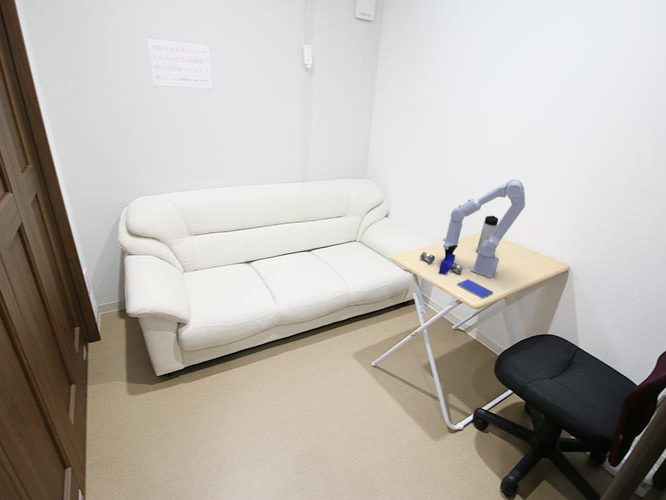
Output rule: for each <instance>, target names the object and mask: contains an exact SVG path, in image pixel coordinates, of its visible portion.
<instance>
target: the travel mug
mask: <svg viewBox="0 0 666 500" xmlns="http://www.w3.org/2000/svg"><path fill="white" fill-rule="evenodd" d="M498 224H499V218H498V217H496V216H495V215H488V216H487V215H486V216H485V218H484V222H483V225H482V229H481V234H480V237H479V240H478V244H477V248H476V253H477V254H478V252H479V251H480V249H481V246H482V241H483V240H484V239H486V238H488V237H489V235H490V234H491V233H492V232H493V231H494V229H495V228H496V226H497V225H498Z"/></svg>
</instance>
